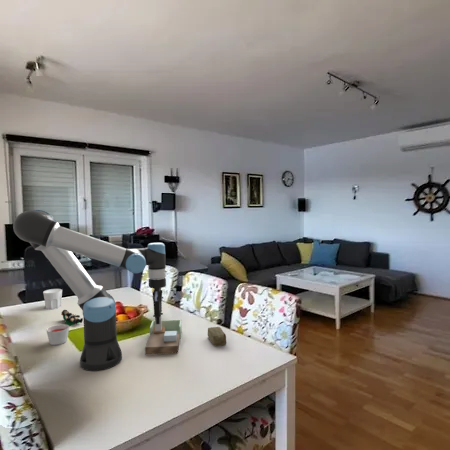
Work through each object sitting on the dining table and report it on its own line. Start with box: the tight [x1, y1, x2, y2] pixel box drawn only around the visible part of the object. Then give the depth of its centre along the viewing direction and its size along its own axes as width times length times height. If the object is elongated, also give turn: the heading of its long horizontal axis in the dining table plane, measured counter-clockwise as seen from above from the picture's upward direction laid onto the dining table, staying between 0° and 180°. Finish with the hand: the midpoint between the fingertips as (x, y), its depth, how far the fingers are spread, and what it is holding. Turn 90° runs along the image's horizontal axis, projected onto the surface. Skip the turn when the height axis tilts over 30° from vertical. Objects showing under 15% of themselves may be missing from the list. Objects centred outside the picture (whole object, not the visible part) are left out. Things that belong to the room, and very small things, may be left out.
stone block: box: [207, 326, 227, 347], centre depth 143 cm, size 6×12×5 cm, turn 18°
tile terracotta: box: [153, 327, 166, 334], centre depth 149 cm, size 5×5×2 cm
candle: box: [45, 324, 70, 346], centre depth 145 cm, size 9×9×6 cm
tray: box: [149, 319, 183, 340], centre depth 150 cm, size 14×9×6 cm, turn 95°
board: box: [144, 333, 181, 355], centre depth 138 cm, size 13×14×3 cm
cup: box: [42, 288, 63, 310], centre depth 196 cm, size 10×10×10 cm
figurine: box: [61, 309, 84, 327], centre depth 170 cm, size 8×6×15 cm
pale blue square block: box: [164, 331, 177, 341], centre depth 139 cm, size 5×5×2 cm
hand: (158, 330), depth 146 cm, fingers closed
